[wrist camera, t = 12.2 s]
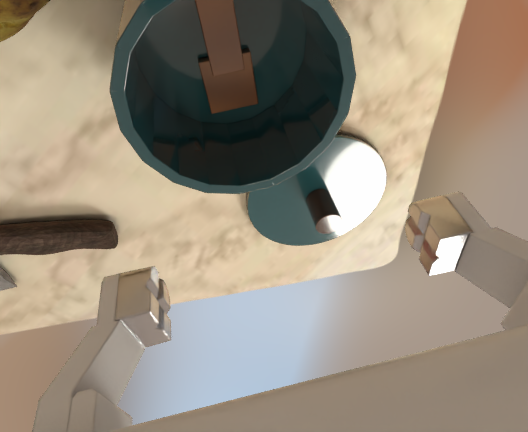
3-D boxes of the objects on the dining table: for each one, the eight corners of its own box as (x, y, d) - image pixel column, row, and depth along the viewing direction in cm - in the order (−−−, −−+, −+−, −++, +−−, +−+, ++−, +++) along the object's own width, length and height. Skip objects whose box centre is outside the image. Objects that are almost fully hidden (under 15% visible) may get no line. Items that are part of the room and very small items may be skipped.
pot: (83, -44, 24) (55, -1, 18) (309, -93, 24) (361, -68, 18) (160, 143, 34) (160, 213, 28) (318, 107, 35) (353, 167, 28)
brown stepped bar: (177, -19, 25) (179, -2, 23) (236, -31, 26) (244, -16, 23) (210, 109, 32) (215, 132, 30) (256, 99, 32) (265, 121, 30)
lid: (232, 151, 36) (240, 186, 33) (388, 115, 37) (413, 145, 33) (257, 251, 47) (265, 285, 44) (377, 222, 48) (394, 253, 44)
